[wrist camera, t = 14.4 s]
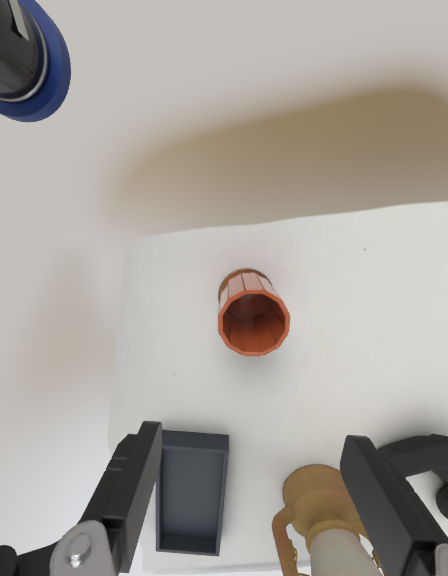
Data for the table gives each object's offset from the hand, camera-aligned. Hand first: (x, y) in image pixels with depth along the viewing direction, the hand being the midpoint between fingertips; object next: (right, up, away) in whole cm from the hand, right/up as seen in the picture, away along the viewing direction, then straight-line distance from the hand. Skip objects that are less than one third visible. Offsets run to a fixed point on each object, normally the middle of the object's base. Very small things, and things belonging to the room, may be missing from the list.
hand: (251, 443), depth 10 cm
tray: (-6, -25, +28) cm, 38 cm away
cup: (+2, +6, +20) cm, 21 cm away
